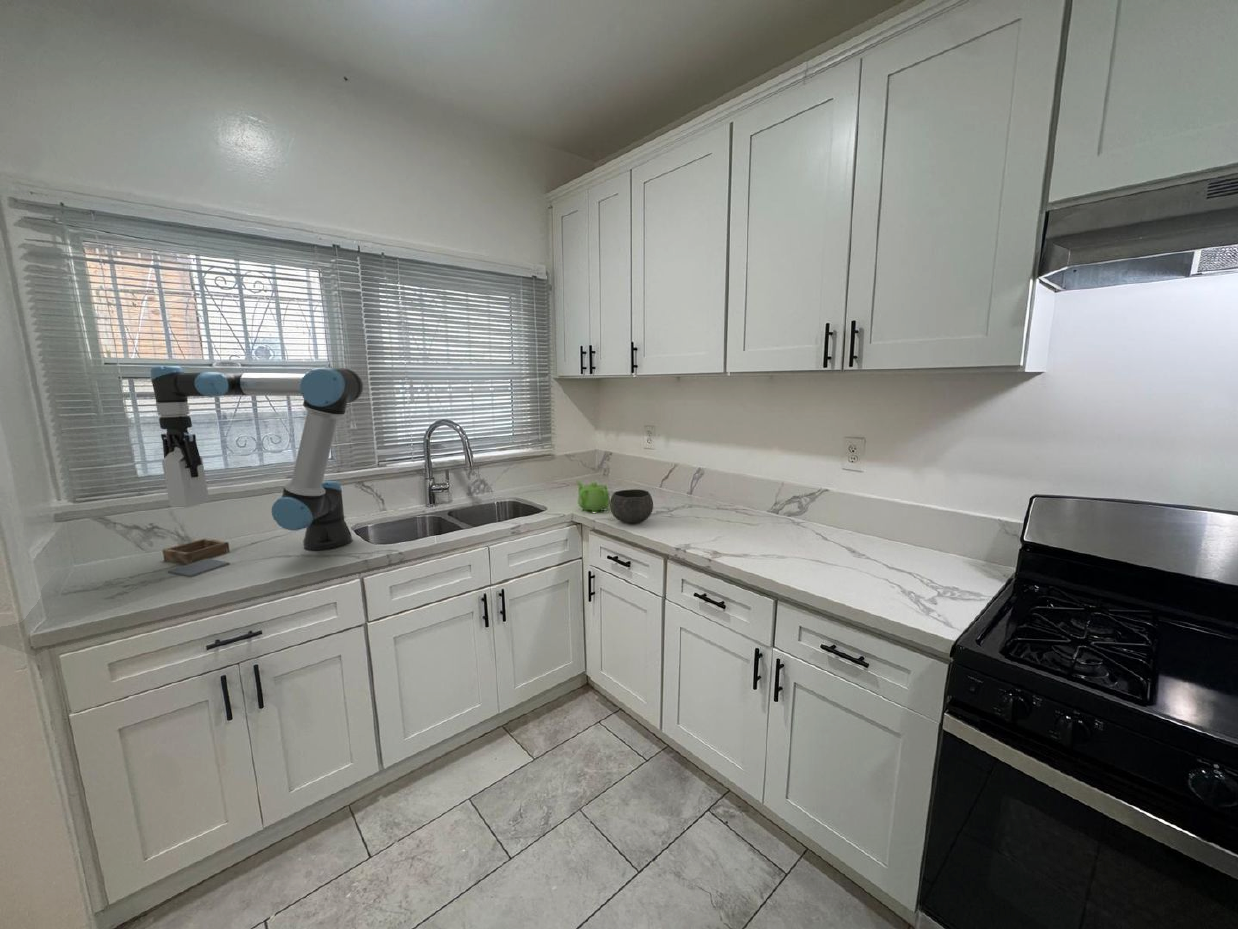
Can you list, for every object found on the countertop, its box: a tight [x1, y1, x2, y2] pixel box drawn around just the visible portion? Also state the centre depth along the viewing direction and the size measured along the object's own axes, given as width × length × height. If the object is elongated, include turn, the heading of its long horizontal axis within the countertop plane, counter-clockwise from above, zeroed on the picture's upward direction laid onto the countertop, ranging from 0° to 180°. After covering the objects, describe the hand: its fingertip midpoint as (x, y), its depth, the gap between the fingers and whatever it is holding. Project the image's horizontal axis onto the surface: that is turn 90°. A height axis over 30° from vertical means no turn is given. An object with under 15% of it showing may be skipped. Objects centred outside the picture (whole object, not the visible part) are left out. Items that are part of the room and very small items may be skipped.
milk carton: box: [161, 447, 210, 508], centre depth 157 cm, size 7×7×19 cm
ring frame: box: [162, 538, 231, 565], centre depth 165 cm, size 12×12×4 cm
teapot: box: [575, 480, 611, 513], centre depth 219 cm, size 16×14×13 cm
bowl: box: [609, 488, 654, 525], centre depth 200 cm, size 18×18×13 cm
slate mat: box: [167, 558, 230, 578], centre depth 154 cm, size 11×11×1 cm
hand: (186, 486), depth 158 cm, fingers closed on milk carton, 8 cm apart
